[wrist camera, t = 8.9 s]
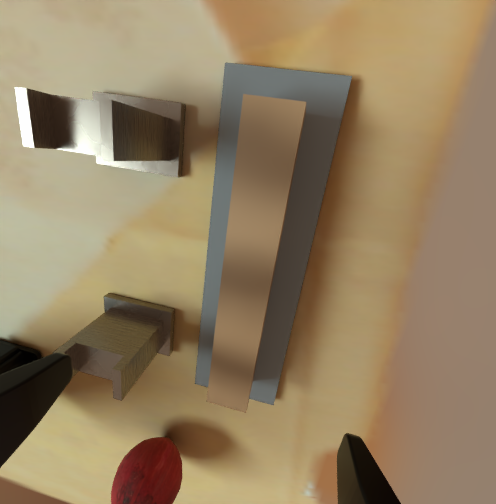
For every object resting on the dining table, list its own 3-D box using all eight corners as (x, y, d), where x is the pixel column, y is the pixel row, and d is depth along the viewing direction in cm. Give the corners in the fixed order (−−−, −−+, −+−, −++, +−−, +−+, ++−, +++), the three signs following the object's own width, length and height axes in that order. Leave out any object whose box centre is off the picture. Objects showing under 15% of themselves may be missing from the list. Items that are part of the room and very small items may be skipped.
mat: (274, 399, 23) (273, 405, 22) (197, 378, 24) (194, 383, 23) (350, 79, 15) (351, 76, 14) (227, 66, 16) (225, 62, 15)
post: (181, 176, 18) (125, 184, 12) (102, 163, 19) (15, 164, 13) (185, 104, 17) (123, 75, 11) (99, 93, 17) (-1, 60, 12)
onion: (139, 412, 27) (77, 508, 19) (193, 423, 26) (149, 528, 18) (145, 452, 29) (91, 553, 21) (195, 463, 28) (157, 574, 20)
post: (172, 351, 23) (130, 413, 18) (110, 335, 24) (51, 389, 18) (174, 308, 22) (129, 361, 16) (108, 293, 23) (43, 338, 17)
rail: (253, 380, 22) (245, 412, 19) (218, 371, 22) (206, 401, 20) (305, 112, 15) (306, 101, 12) (253, 106, 15) (243, 94, 13)
